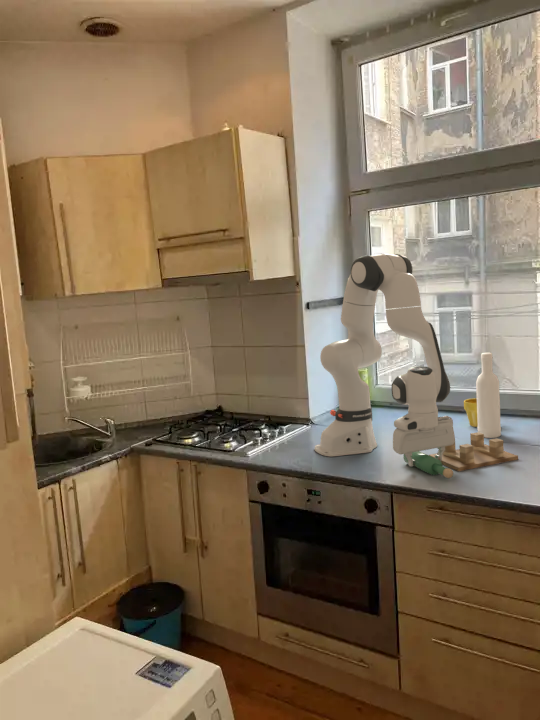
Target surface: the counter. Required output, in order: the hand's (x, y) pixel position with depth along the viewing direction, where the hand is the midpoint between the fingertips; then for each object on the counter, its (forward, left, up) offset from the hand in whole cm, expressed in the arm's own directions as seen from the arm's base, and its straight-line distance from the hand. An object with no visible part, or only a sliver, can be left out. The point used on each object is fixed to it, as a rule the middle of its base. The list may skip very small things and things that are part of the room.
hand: (425, 463), depth 191 cm
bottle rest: (+18, +1, -2) cm, 18 cm away
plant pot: (+46, +35, -2) cm, 58 cm away
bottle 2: (+40, +21, -2) cm, 45 cm away
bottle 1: (0, -3, -2) cm, 3 cm away
